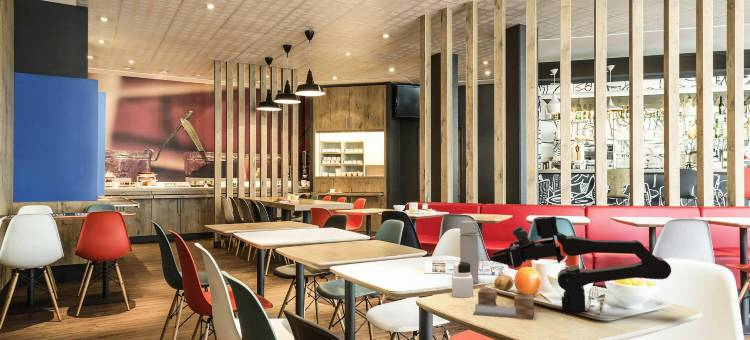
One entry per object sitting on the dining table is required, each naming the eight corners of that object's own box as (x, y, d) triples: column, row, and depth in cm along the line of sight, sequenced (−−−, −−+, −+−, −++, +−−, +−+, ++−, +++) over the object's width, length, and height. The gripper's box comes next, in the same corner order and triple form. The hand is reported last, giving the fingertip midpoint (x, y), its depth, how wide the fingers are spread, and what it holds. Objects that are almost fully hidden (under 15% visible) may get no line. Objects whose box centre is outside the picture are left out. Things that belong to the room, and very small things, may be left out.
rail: (533, 316, 158) (533, 306, 158) (533, 322, 153) (532, 311, 153) (475, 312, 165) (475, 302, 165) (472, 317, 159) (472, 307, 159)
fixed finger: (533, 314, 158) (533, 294, 159) (533, 319, 153) (532, 299, 153) (515, 312, 160) (515, 293, 160) (514, 318, 155) (514, 298, 155)
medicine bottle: (471, 292, 191) (470, 260, 191) (473, 297, 184) (472, 264, 184) (452, 292, 192) (451, 260, 192) (453, 297, 185) (452, 264, 185)
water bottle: (460, 284, 206) (459, 222, 206) (460, 280, 213) (459, 220, 213) (483, 285, 204) (482, 222, 204) (482, 280, 212) (481, 220, 212)
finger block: (497, 306, 171) (496, 288, 171) (495, 311, 165) (494, 292, 165) (481, 305, 173) (480, 287, 173) (478, 310, 167) (478, 291, 167)
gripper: (535, 222, 175) (490, 230, 180) (534, 228, 157) (483, 235, 162) (542, 255, 174) (496, 261, 179) (541, 264, 156) (490, 270, 161)
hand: (491, 256), depth 170 cm, fingers open, 9 cm apart
